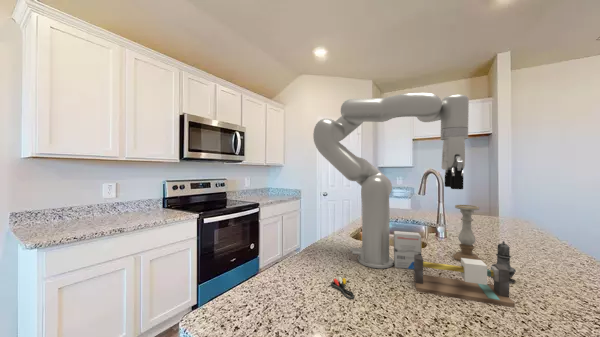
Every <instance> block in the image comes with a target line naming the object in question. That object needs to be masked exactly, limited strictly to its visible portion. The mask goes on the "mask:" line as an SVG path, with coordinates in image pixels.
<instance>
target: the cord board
mask: <svg viewBox="0 0 600 337" xmlns="http://www.w3.org/2000/svg"><path fill="white" fill-rule="evenodd" d="M493 264H494V266H491V265H490V268H489V269H488V268H487V277H490V278H491V279H492V281H493V284H492V283H491V284H490V283H487V285H484V284H477V283H470V282H465V281H464V279H463V280H462V279H458V278H457V279H455V278H450V277H449V278H448V277H441V276H435V275H429V274H424V268H428V269H435V270H441V271H451V272H458V273H461V272H464V267H462V266H461V265H453V264H446V263H438V262H430V261H424V257H423V254H421V255H416V254H414V269H413V270H414V271H413V273H412V274H413V276H412V278H413V280H414V286H415V290H416V292H419V293H425V294H430V295H438V296H443V297H449V298H455V299H461V300H467V301H473V302H478V303H486V304H491V305H497V306H504V307H508V308H509V307H510V308H515V306H516V304H515V302H514V301H513V300H512V299H511V298H510V283H509V270H508V269H507V268H506V267H505V266H504V265H501V264H496V263H493Z"/></svg>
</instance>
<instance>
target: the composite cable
mask: <svg viewBox="0 0 600 337" xmlns="http://www.w3.org/2000/svg"><path fill="white" fill-rule="evenodd" d="M332 279H333V281H332V282H331V283H330V286H331V287H332V288H334V289H336V290H338V291H339V292H340V293H341V294H343V295H344V297H345V298H346V299H350V300H354V299H355V295H354V293H353V291H350V290H348V289H345V288H346V284H347V278H345V277H341V275H338V278H335V277H332Z"/></svg>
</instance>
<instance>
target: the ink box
mask: <svg viewBox="0 0 600 337" xmlns="http://www.w3.org/2000/svg"><path fill="white" fill-rule="evenodd" d="M414 254H416V255H422V235H421V234H420V233H419V232H412V231H411V232H410V231H402V230H401V231H399V230H394V231H393V260H394V265H393V266H394V268H397V269H398V268H399V269H407V270H408V269H409V270H414Z"/></svg>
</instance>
